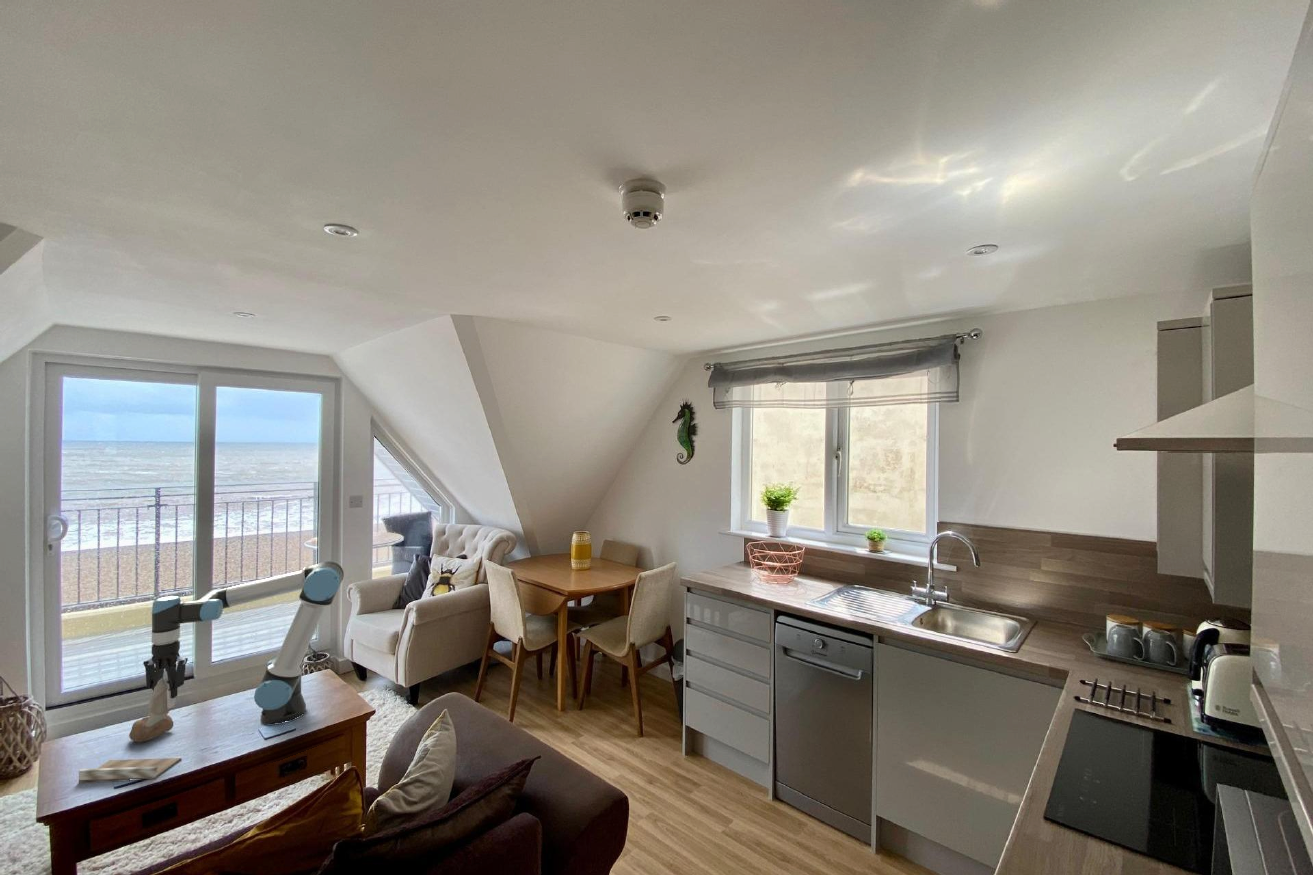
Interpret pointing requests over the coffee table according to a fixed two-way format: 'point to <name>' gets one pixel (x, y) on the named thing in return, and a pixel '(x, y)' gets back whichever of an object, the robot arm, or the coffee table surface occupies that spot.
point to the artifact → (158, 703)
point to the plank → (128, 770)
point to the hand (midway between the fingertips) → (165, 706)
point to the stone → (150, 729)
